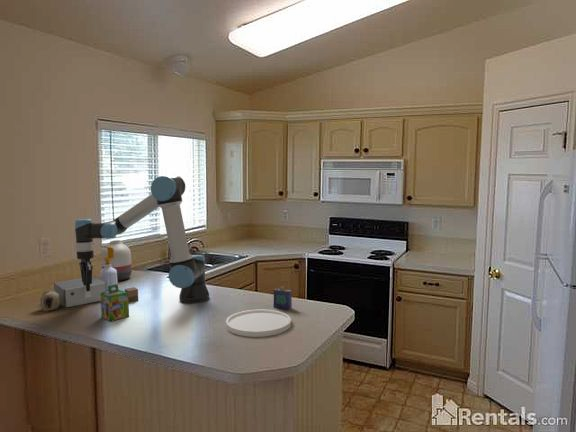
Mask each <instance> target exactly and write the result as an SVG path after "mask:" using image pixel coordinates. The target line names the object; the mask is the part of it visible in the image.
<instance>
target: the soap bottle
mask: <svg viewBox="0 0 576 432" xmlns="http://www.w3.org/2000/svg"><path fill="white" fill-rule="evenodd" d="M104 248H107V249H108V257H106V258H101V260H102V259H103V260H105V261H106V263H105V268H103V269H102V268H101V270H100V271H99V279H100V280H102V281H104V282H105V283H106V292H107V291H109V290H108V286H111V285H115V284H117V285H118V282H119V281H117V271H116V269H114V268H112V267H111V263H109V261H110V259H113V258H114V249H113V248H111V247H106V246H103V249H104ZM111 290H116V288H115V287H113V288H111Z"/></svg>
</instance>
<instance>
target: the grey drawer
mask: <svg viewBox="0 0 576 432" xmlns="http://www.w3.org/2000/svg"><path fill="white" fill-rule="evenodd" d="M90 287H91V297H88V298H85V297H84V286H82V287H76V288H70V289H65V298H66V307H65V308H69V307H70V308H71V307H75V306H81V305H85V304H86V305H87V304H91V303H97V302H101V296H100V293H103V292H107V291H106V289H105V283H100V284H94V285H90Z"/></svg>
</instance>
